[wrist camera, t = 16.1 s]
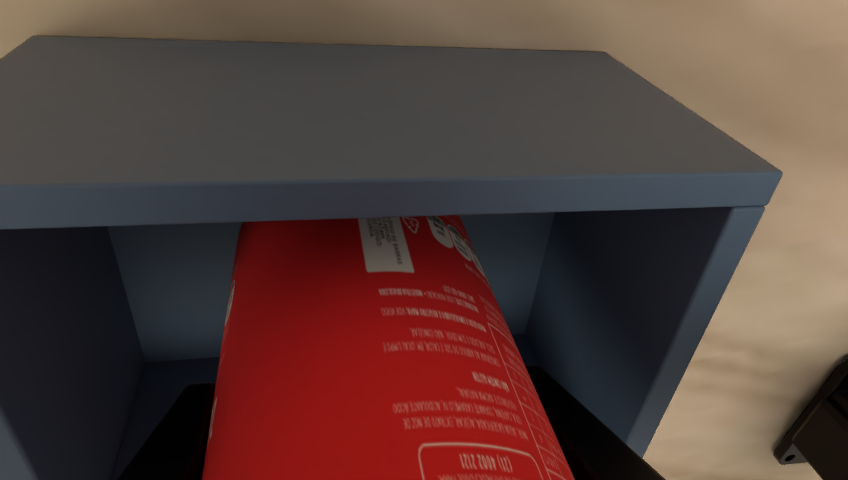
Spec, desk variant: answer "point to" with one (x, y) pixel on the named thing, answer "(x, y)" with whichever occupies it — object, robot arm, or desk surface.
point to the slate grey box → (342, 215)
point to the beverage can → (371, 360)
